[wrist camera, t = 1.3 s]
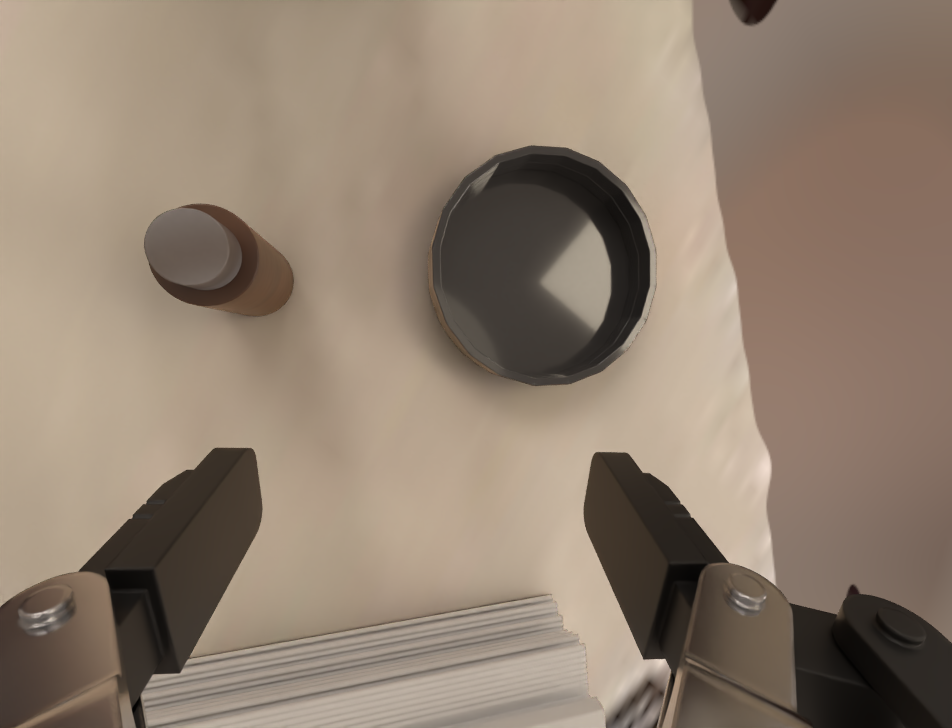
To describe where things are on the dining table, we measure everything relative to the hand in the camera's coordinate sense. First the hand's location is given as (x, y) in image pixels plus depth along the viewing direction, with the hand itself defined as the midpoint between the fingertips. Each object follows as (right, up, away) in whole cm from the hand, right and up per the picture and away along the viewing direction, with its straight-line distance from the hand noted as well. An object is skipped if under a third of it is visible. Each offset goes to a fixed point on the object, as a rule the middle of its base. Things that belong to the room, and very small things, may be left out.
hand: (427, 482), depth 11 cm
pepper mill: (-15, +9, +21) cm, 27 cm away
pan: (+6, +10, +25) cm, 27 cm away
